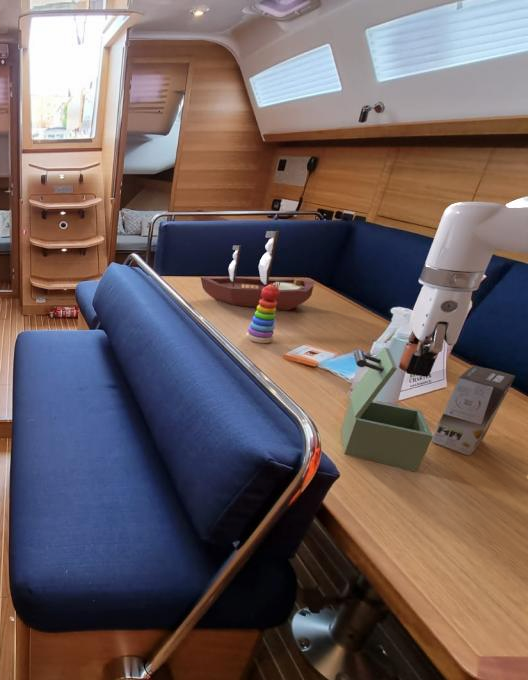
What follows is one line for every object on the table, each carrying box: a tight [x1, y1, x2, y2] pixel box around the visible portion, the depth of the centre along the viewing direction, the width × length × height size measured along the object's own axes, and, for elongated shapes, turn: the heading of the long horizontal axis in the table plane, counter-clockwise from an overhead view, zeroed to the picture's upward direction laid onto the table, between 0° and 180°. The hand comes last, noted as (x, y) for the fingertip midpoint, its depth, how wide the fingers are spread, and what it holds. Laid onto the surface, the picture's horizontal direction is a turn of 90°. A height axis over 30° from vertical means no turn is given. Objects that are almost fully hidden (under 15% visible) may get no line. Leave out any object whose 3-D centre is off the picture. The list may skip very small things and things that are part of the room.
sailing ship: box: [200, 230, 315, 312], centre depth 165 cm, size 18×40×29 cm, turn 63°
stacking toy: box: [245, 285, 280, 344], centre depth 136 cm, size 8×8×19 cm
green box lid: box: [349, 347, 398, 418], centre depth 85 cm, size 12×10×5 cm
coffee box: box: [430, 364, 516, 456], centre depth 86 cm, size 9×6×16 cm
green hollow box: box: [340, 399, 433, 473], centre depth 87 cm, size 12×10×9 cm
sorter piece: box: [398, 343, 426, 372], centre depth 79 cm, size 4×4×4 cm
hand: (414, 368), depth 80 cm, fingers closed on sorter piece, 4 cm apart
